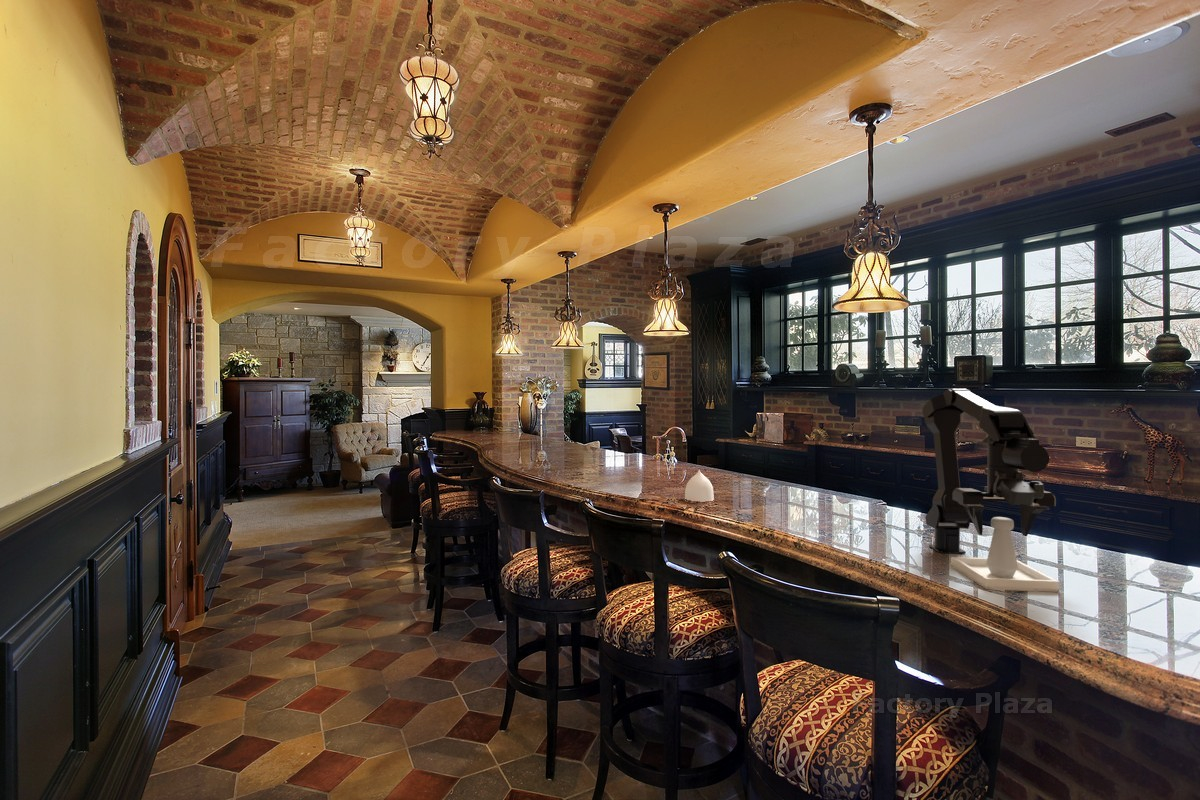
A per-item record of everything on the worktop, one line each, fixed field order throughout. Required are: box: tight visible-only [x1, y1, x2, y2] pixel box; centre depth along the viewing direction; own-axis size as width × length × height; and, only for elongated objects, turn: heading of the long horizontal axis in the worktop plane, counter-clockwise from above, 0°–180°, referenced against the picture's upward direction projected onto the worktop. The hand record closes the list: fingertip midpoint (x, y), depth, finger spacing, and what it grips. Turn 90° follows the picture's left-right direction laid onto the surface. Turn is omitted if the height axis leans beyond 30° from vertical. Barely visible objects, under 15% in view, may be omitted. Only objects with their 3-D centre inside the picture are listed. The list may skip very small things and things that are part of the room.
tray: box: [950, 556, 1060, 593], centre depth 130 cm, size 16×14×2 cm
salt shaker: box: [986, 516, 1018, 578], centre depth 130 cm, size 6×6×13 cm
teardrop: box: [684, 469, 715, 502], centre depth 221 cm, size 11×11×12 cm
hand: (1002, 535), depth 130 cm, fingers open, 9 cm apart
